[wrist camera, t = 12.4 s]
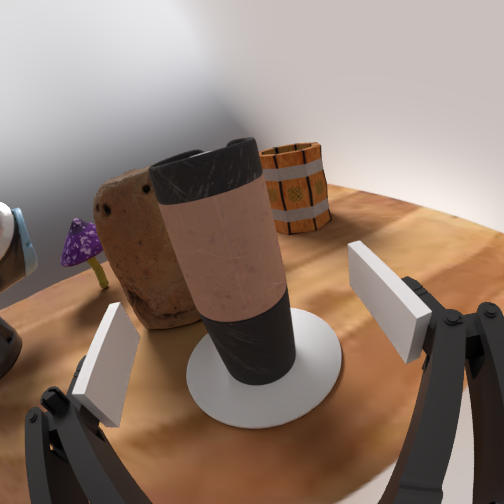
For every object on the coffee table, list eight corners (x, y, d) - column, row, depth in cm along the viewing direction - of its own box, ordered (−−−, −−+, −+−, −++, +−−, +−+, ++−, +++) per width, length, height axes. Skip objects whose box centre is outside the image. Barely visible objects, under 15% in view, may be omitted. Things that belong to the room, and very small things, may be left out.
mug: (345, 220, 52) (335, 143, 45) (284, 242, 49) (267, 159, 42) (300, 198, 69) (289, 140, 62) (250, 213, 66) (235, 153, 60)
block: (212, 289, 41) (169, 156, 32) (218, 319, 34) (164, 161, 25) (146, 308, 39) (93, 184, 31) (141, 341, 33) (72, 198, 24)
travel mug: (255, 402, 22) (168, 166, 13) (210, 359, 27) (134, 170, 18) (315, 353, 25) (280, 132, 16) (265, 322, 31) (218, 141, 22)
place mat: (162, 406, 23) (160, 404, 23) (222, 307, 36) (221, 304, 36) (328, 439, 17) (328, 437, 17) (346, 310, 30) (346, 306, 30)
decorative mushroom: (70, 307, 45) (36, 240, 38) (101, 273, 56) (74, 213, 49) (113, 305, 42) (74, 226, 36) (142, 267, 53) (115, 199, 46)
